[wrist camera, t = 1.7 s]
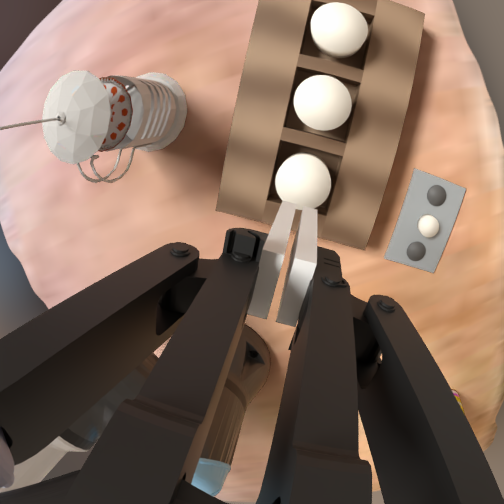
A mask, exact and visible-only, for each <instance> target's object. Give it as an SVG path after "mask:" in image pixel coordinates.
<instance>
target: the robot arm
mask: <svg viewBox="0 0 504 504" xmlns="http://www.w3.org/2000/svg"><path fill="white" fill-rule="evenodd" d="M296 205H297V204H295V203H291V202H287V201H282V203H281V206H280V208H279V211H278V213H277V215H276V218H275V220H274V223H273V225H272V228H271V230H270V232H269V234H266V233H263V232H259V231H255V230H251V229H244V228H232V229H229V230H227V231H226V237H225V242H224V248H223V253H222V255H221V256H220V258H219V259H214V260H211V259H199V251H198V250H197V248H195V247H193V246H191V245H188V244H186V243H181V242H176V243H170V244H166V245H164V246H162V247H160V248H158V249H156V250H155V251H153V252H151V253H149V254H147V255H145V256H143V257H141V258H140V259H138V260H136V261H134V262H132V263H130V264H129V265H127V266H125V267H123V268H121V269H119V270H118V271H116V272H114V273H112V274H110V275H108V276H107V277H105V278H103V279H101V280H100V281H98V282H96V283H94V284H92V285H91V286H89V287H87V288H85V289H84V290H82V291H80V292H78V293H77V294H75V295H73V296H71V297H70V298H68V299H66V300H64V301H63V302H61V303H59V304H58V305H56V306H54V307H52V308H51V309H49V310H48V311H46V312H44V313H42V314H41V315H39V316H37V317H36V318H34V319H32V320H31V321H29V322H27V323H26V324H24V325H22V326H21V327H19V328H17V329H16V330H14V331H12V332H11V333H9V334H8V335H6V336H4V337H3V338H1V339H0V504H229V503H225V502H223V501H221V500H219V499H217V498H215V497H214V496H215V495H217V494H218V493H219V492H220V490H221V489H222V486H223V484H224V481H225V479H226V476H227V474H228V472H229V471H230V470H231V463H232V459H233V456H234V452H235V448H236V445H237V441H238V437H239V433H240V430H241V426H242V422H243V418H244V414H245V411H246V408H247V406H248V404H249V403H250V402H251V401H252V399H253V398H254V397H255V396H256V394H257V393H258V392H259V391H260V389H261V388H262V387H263V385H264V384H265V382H266V380H267V377H268V373H269V369H270V354H269V351H268V348H267V346H266V345H265V343H264V341H263V340H262V339H261V338H260V337H259V335H258V334H257V333H255V332H254V331H253V330H252V329H251V328H249V327H248V326H246V325H244V323H245V320H246V316H247V314H249V315H253V316H256V317H260V318H263V319H267V316H268V313H269V309H270V306H271V302H272V299H273V295H274V291H275V288H276V284H277V281H278V277H279V273H280V270H281V266H282V263H283V259H284V255H285V251H286V247H287V243H288V239H289V235H290V231H291V226H292V222H293V218H294V214H295V209H296ZM297 321H298V324H297ZM276 322H278V323H282V324H286V325H290V326H294V327H296V324H297V327H296V330H295V333H294V335H293V338H292V341H291V344H290V346H289V349H288V350H291V353H290V358H289V364H288V369H287V374H286V379H285V384H284V389H283V394H282V399H281V404H280V409H279V414H278V418H277V423H276V427H275V432H274V437H273V441H272V445H271V450H270V454H269V458H268V463H267V467H266V471H265V475H264V479H263V483H262V487H261V491H260V494H259V497H258V499H257V502H256V504H371V503H372V471H371V465H370V464H369V462H368V461H366V460H361V459H360V457H359V452H358V410H359V414H360V417H361V420H362V424H363V427H364V430H365V434H366V437H367V441H368V444H369V448H370V451H371V455H372V458H373V462H374V465H375V469H376V473H377V476H378V480H379V484H380V488H381V491H382V495H383V499H384V503H385V504H504V499H503V498H502V495H501V492H500V490H499V488H498V485H497V483H496V480H495V478H494V476H493V473H492V471H491V469H490V467H489V464H488V462H487V460H486V458H485V456H484V453H483V451H482V449H481V447H480V445H479V443H478V441H477V438H476V436H475V434H474V432H473V430H472V428H471V426H470V424H469V422H468V420H467V418H466V416H465V415H464V413H463V411H462V409H461V407H460V405H459V403H458V401H457V399H456V397H455V396H454V394H453V392H452V390H451V388H450V387H449V385H448V383H447V381H446V379H445V378H444V376H443V374H442V372H441V371H440V369H439V367H438V365H437V364H436V362H435V360H434V358H433V357H432V355H431V353H430V352H429V350H428V348H427V347H426V345H425V343H424V342H423V340H422V339H421V337H420V335H419V334H418V332H417V330H416V329H415V327H414V326H413V324H412V322H411V321H410V319H409V318H408V316H407V315H406V313H405V311H404V310H403V308H402V307H401V306H400V305H399V304H398V303H397V302H396V301H394V299H392V298H389V297H388V296H383V295H373V296H371V297H370V298H369V301H368V303H367V302H364V301H362V300H360V299H358V298H356V297H354V296H353V295H351V294H350V286H349V284H348V282H347V281H346V280H345V279H343V278H342V271H341V264H340V257H339V256H338V254H337V253H336V252H335V251H333V250H329V249H326V248H322V247H318V246H317V209H313V208H310V207H306V206H303V209H302V213H301V217H300V221H299V224H298V228H297V232H296V235H295V239H294V243H293V246H292V250H291V254H290V259H289V264H288V268H287V273H286V278H285V283H284V287H283V292H282V296H281V301H280V306H279V310H278V315H277V319H276ZM171 336H172V337H171ZM170 337H171V339H170V340H169V342H168V344H167V346H166V347H165V349H164V351H163V352H162V354H161V356H160V357H159V358H158V357H157V356H156V355H155V354H154V353H153V352H154V351H155V350H156V349H157V348H158V347H160V346H161V345H162V344H163V343H164V342H165V341H166V340H167V339H168V338H170ZM381 354H382V361H381V359H380V356H381ZM97 440H98V441H97ZM96 441H97V443H96ZM94 443H96V444H95V446H94V448H93V450H92V452H91V453H90V455H89V456H88V458H87V460H86V462H85V463H84V465H83V467H82V469H81V470H78V471H74V472H71V473H68V474H65V475H62V476H59V477H56V478H52V479H49V480H46V481H43V482H40V481H41V480H42V479H43V478H44V477H45V476H46V475H47V474H48V473H49V471H50V470H51V469H52V468H53V467H54V466H55V465H56V464H57V462H58V461H59V460H60V459H61V458H62V457H63V456H64V455H65V454H66V452H68V451H78V452H86V451H88V450H89V449H90V448H91V447H92V446H93V445H94Z"/></svg>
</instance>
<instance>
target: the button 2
mask: <svg viewBox="0 0 504 504" xmlns="http://www.w3.org/2000/svg"><path fill="white" fill-rule="evenodd" d="M351 107H352V102H351V97H350V94H349V92H348V90H347V88H346V87H345V86H344V85H343V84H342V83H341V82H340V81H339V80H337V79H335V78H333V77H330V76H326V75H316V76H312V77H309V78H307V79H306V80H304V81H303V82H302V83H301V84H300V85H299V86H298V88H297V90H296V92H295V95H294V108H295V111H296V113H297V115H298V117H299V118H300V120H301V121H302V122H303V123H305V124H306V125H307V126H309V127H311V128H313V129H316V130H323V131H325V130H332V129H335V128H337V127H339V126H341V125H342V124H343V123H344V122H345V121H346V120H347V118H348V117H349V115H350V112H351Z"/></svg>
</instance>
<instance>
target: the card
mask: <svg viewBox="0 0 504 504" xmlns="http://www.w3.org/2000/svg"><path fill="white" fill-rule="evenodd" d="M465 191H466V189H465V188H463V187H461V186H458V185H456V184H454V183H451V182H449V181H446V180H444V179H441V178H439V177H436V176H434V175H431V174H429V173H426V172H423V171H421V170H418V169H415V168H414V171H413V174H412V178H411V181H410V184H409V187H408V191H407V194H406V197H405V200H404V203H403V206H402V209H401V212H400V215H399V218H398V220H397V223H396V226H395V229H394V232H393V234H392V237H391V240H390V243H389V245H388V248H387V251H386V253H385V256H384V259H388V260H391V261H395V262H398V263H401V264H405V265H408V266H412V267H415V268H418V269H422V270H425V271H428V272H432V273H434V271H435V269H436V266H437V264H438V262H439V260H440V257H441V255H442V252H443V250H444V248H445V245H446V243H447V240H448V238H449V235H450V233H451V230H452V228H453V225H454V222H455V220H456V217H457V214H458V211H459V208H460V206H461V203H462V200H463V197H464V194H465Z"/></svg>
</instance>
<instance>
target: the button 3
mask: <svg viewBox="0 0 504 504" xmlns="http://www.w3.org/2000/svg"><path fill="white" fill-rule="evenodd" d="M367 34H368V26H367V22H366V20H365V18H364V17H363V15H362V14H361V13H360V12H359V11H358V10H357V9H355V8H354V7H352V6H350V5H348V4H344V3H338V2H334V3H328V4H325V5H323V6H321V7H319V8H318V9H317V10H316V11H315V12H314V14H313V16H312V19H311V35H312V40H313V42H314V44H315V46H316V47H317V48H318V49H319V50H320V51H321V52H322V53H324V54H326V55H328V56H330V57H334V58H346V57H350V56H352V55H354V54H355V53H356V52H357V51H358V50H359V49H360V48H361V46H362V44H363V43H364V41H365V40H366V37H367Z"/></svg>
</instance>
